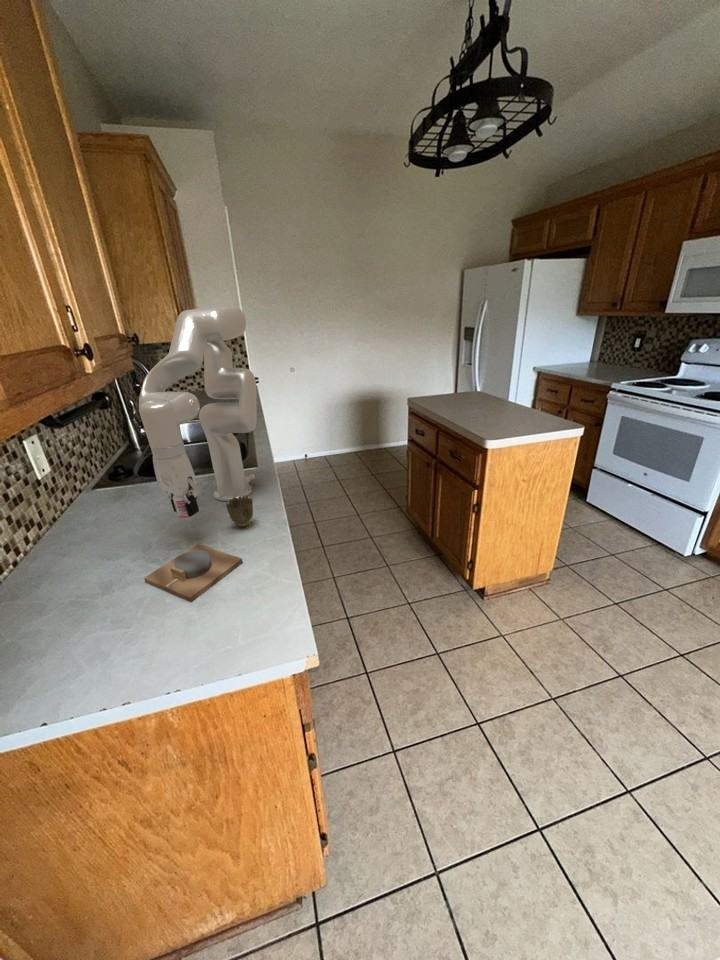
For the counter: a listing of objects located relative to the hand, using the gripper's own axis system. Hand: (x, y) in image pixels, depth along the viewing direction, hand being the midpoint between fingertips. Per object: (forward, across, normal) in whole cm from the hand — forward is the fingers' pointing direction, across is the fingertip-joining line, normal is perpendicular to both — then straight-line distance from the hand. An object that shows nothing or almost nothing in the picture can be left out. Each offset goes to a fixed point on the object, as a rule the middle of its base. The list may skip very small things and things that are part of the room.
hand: (186, 511), depth 107 cm
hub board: (+8, +13, -11) cm, 19 cm away
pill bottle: (+1, 0, 0) cm, 1 cm away
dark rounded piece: (+10, +8, +11) cm, 17 cm away
